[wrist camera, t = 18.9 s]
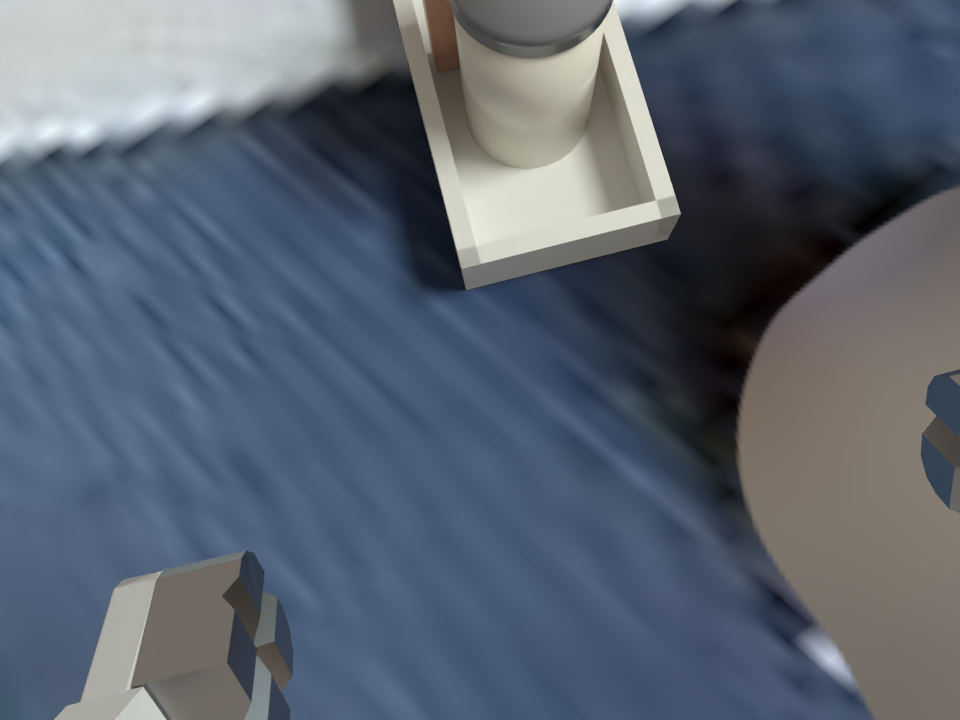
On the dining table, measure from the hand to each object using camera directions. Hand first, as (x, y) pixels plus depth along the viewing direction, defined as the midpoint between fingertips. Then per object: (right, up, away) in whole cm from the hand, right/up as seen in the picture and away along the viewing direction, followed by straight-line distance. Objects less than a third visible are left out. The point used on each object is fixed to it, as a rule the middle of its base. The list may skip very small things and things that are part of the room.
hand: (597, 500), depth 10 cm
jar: (+1, +13, +28) cm, 31 cm away
